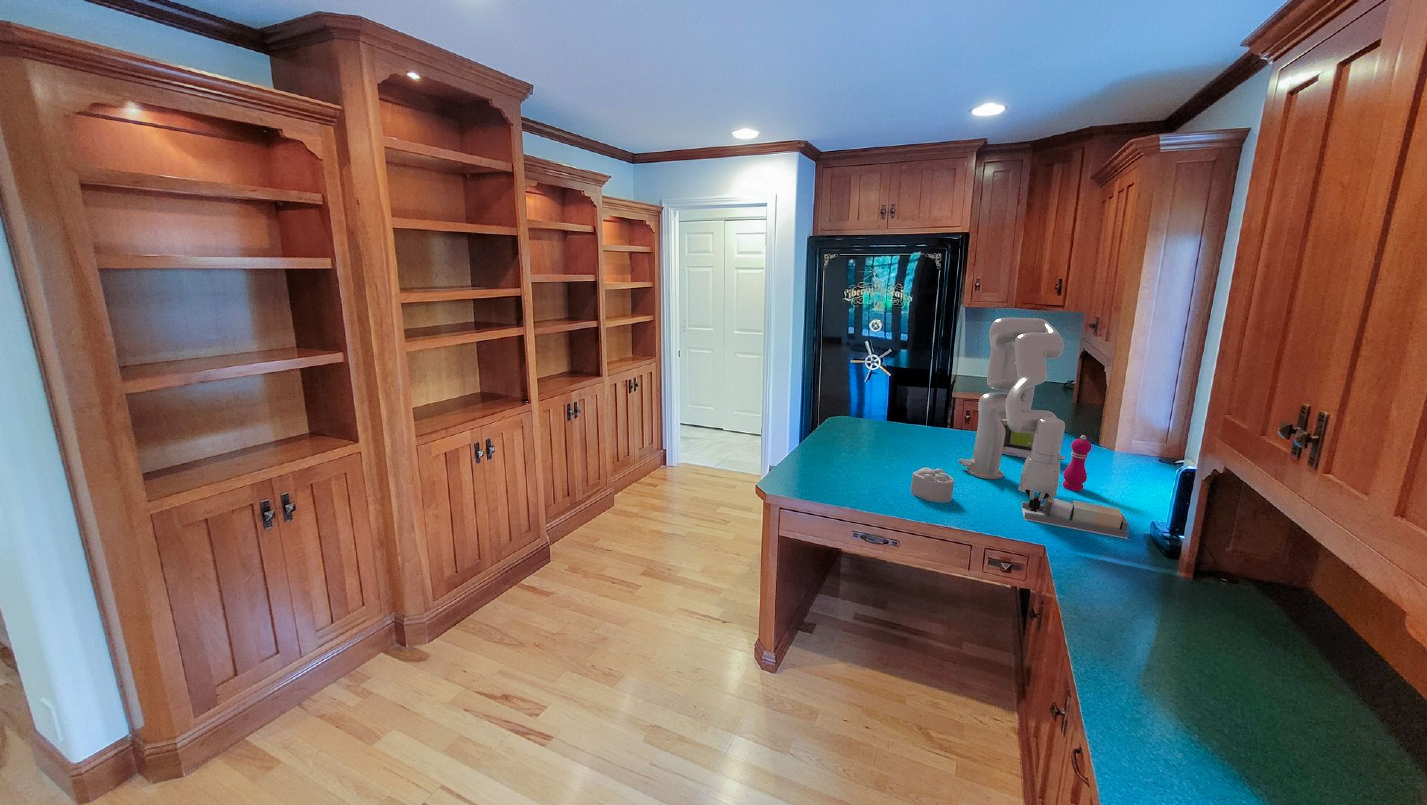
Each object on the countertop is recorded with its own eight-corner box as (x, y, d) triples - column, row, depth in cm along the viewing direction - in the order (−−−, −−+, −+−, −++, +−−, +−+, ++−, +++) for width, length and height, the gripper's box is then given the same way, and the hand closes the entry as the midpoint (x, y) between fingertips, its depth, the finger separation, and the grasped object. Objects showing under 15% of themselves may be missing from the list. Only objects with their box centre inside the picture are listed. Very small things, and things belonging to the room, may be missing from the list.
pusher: (1044, 519, 174) (1048, 500, 172) (1042, 510, 180) (1046, 492, 178) (1048, 520, 173) (1052, 501, 172) (1045, 511, 179) (1049, 492, 178)
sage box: (1071, 523, 172) (1075, 507, 171) (1070, 516, 177) (1073, 500, 176) (1094, 528, 169) (1098, 512, 168) (1092, 520, 174) (1096, 504, 173)
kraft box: (1094, 528, 169) (1098, 512, 168) (1092, 520, 174) (1096, 504, 173) (1118, 533, 167) (1122, 517, 165) (1115, 525, 172) (1119, 509, 170)
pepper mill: (1087, 493, 197) (1099, 439, 192) (1065, 490, 199) (1076, 437, 193) (1079, 484, 204) (1090, 433, 199) (1057, 482, 205) (1068, 431, 200)
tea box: (1037, 453, 235) (1043, 420, 231) (1035, 460, 227) (1042, 426, 223) (998, 446, 243) (1003, 413, 239) (995, 453, 235) (1000, 419, 231)
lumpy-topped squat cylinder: (921, 485, 201) (924, 462, 198) (957, 497, 191) (961, 473, 189) (907, 493, 194) (910, 469, 191) (943, 505, 185) (946, 481, 182)
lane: (1023, 522, 174) (1026, 507, 173) (1021, 508, 184) (1023, 494, 183) (1127, 541, 164) (1131, 526, 163) (1118, 525, 174) (1122, 511, 172)
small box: (1068, 524, 172) (1071, 510, 170) (1047, 518, 175) (1049, 504, 174) (1071, 517, 176) (1074, 503, 174) (1050, 511, 179) (1053, 497, 178)
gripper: (1070, 457, 173) (1059, 510, 178) (1016, 448, 179) (1006, 500, 184) (1073, 465, 166) (1061, 520, 171) (1017, 456, 172) (1007, 509, 178)
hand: (1033, 510), depth 178 cm, fingers closed
